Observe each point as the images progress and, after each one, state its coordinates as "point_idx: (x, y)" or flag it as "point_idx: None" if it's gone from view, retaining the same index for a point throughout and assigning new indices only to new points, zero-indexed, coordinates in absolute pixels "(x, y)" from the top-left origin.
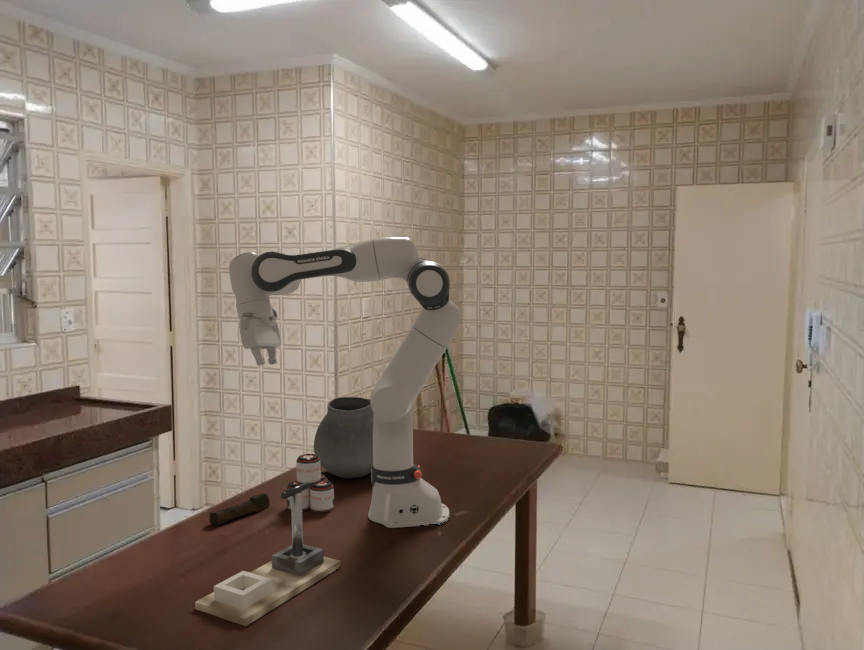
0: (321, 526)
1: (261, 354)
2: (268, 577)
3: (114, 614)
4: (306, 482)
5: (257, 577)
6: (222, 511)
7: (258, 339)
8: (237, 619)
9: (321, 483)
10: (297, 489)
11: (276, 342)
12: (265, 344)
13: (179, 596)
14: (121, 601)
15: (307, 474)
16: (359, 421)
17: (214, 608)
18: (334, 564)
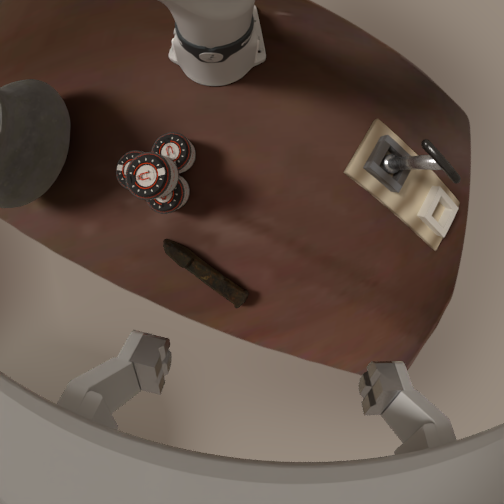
0: (252, 146)
1: (422, 403)
2: (408, 192)
3: (424, 308)
4: (431, 146)
5: (436, 200)
6: (233, 293)
7: (501, 460)
8: None
9: (168, 152)
10: (446, 160)
11: (46, 426)
12: (387, 464)
13: (412, 270)
14: (408, 313)
15: (175, 173)
16: (16, 106)
17: None
18: (385, 125)
